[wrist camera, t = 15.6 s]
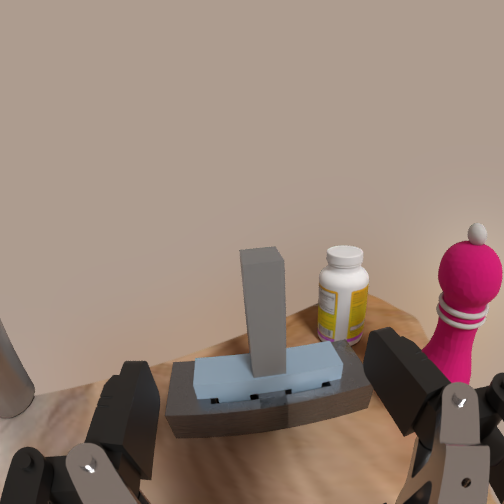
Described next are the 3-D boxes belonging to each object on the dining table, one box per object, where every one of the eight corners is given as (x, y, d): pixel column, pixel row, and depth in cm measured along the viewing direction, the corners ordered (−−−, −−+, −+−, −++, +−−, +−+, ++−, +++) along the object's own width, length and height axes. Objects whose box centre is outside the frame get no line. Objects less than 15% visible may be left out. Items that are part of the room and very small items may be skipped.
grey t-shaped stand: (204, 420, 24) (166, 274, 19) (204, 393, 28) (174, 256, 23) (336, 400, 25) (354, 253, 20) (325, 376, 29) (335, 239, 24)
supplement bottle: (362, 324, 39) (370, 243, 35) (361, 351, 33) (373, 261, 29) (319, 321, 42) (322, 241, 38) (313, 347, 36) (316, 258, 32)
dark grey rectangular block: (176, 438, 22) (165, 415, 21) (181, 386, 30) (173, 362, 29) (367, 407, 24) (375, 382, 23) (342, 363, 32) (345, 339, 30)
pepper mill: (382, 404, 24) (420, 217, 18) (424, 377, 26) (462, 211, 20) (422, 444, 18) (502, 242, 11) (463, 408, 20) (526, 229, 13)
